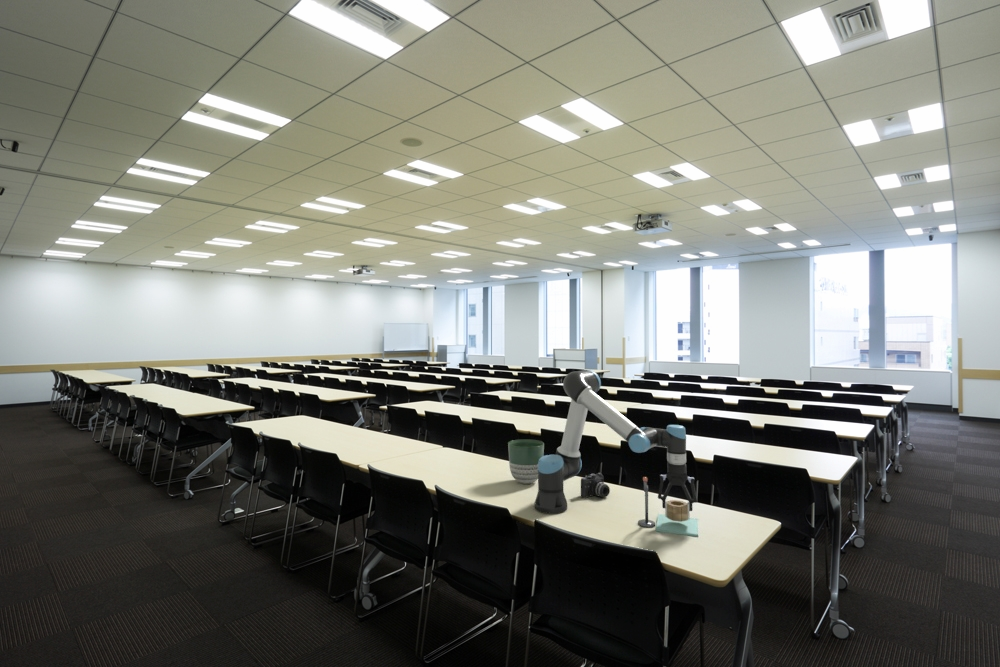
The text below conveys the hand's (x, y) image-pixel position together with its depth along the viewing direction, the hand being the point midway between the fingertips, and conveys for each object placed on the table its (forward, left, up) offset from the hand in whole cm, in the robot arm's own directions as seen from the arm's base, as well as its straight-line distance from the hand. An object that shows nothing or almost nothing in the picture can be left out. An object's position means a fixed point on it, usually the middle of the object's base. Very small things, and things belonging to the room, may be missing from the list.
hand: (677, 517), depth 205 cm
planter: (-78, +36, -4) cm, 86 cm away
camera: (-38, +27, -4) cm, 47 cm away
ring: (0, 0, 0) cm, 0 cm away
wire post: (-12, -5, -4) cm, 13 cm away
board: (0, 0, -4) cm, 4 cm away
